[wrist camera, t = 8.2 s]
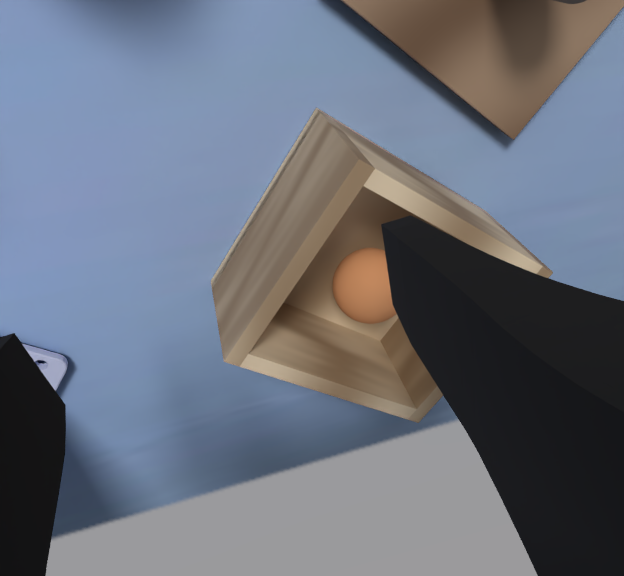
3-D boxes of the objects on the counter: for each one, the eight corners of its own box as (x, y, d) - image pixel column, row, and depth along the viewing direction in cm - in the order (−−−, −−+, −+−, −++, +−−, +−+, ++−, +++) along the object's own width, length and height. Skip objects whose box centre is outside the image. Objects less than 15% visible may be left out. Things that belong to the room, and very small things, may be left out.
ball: (310, 281, 23) (329, 324, 21) (351, 222, 22) (375, 261, 20) (366, 304, 24) (389, 348, 22) (406, 251, 23) (436, 290, 21)
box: (210, 280, 23) (224, 361, 19) (316, 107, 20) (358, 159, 16) (378, 345, 27) (418, 423, 23) (485, 211, 24) (553, 272, 20)
